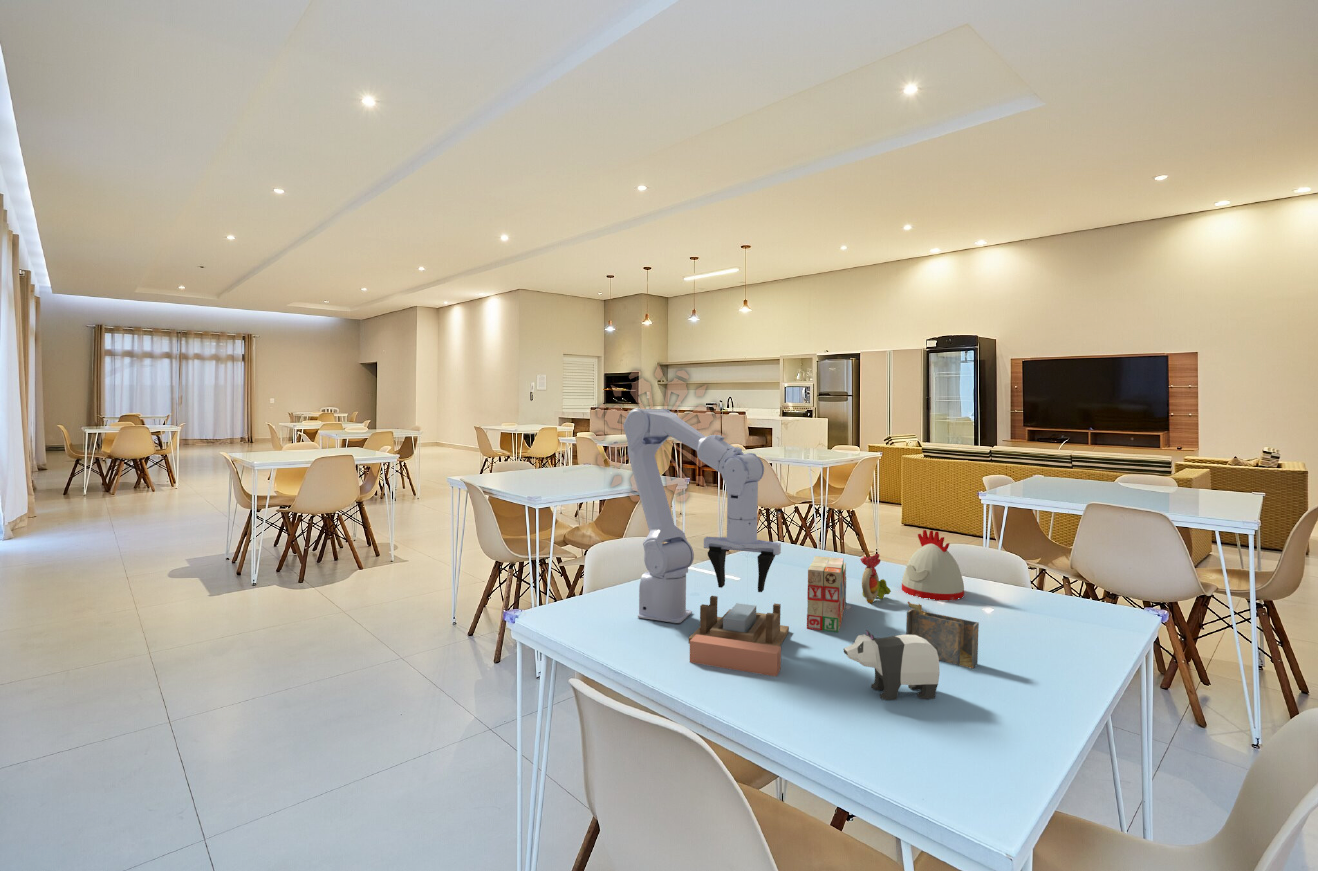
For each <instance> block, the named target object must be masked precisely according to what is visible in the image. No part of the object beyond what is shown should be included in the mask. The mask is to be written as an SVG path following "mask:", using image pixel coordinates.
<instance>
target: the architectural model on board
mask: <svg viewBox="0 0 1318 871" xmlns="http://www.w3.org/2000/svg"><path fill="white" fill-rule="evenodd" d="M907 604H908V607H909V608H910V609H909V610H908V611H906V624H905V626H906V628H905V629H906V630H905V634H906V635H917V636H919V637H921V638H924V639H926V640H927V641H928V642H929V643H932V644H935V645H936V646H937V648H938V653H939V655H938V657H939V661H943V662H946V663H951V664H954V665H958V666H962V667H965V668H970V669H975V667H977V665H978V663H979V662H978V661H979V660H978V659H979V657H978V656H979V654H978V653H979V626H980V625H979V624H980V623H979V622H978V621H974V620H973V621H972V620H970V619H969V620H968V619H963V618H958V617H954V616H948V615H944V614H938V613H933V612H929V611H925V610H922V608H923V606H922V604H920V603H918V604H915V603H911V602H909V601H908V602H907Z"/></svg>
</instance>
